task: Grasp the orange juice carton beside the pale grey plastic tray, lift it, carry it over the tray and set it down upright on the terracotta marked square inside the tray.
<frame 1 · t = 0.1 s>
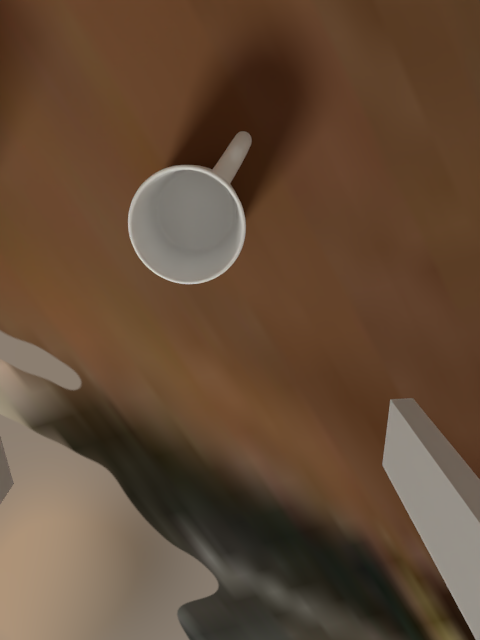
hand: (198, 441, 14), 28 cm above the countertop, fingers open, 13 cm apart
mug: (207, 195, 38), on the countertop
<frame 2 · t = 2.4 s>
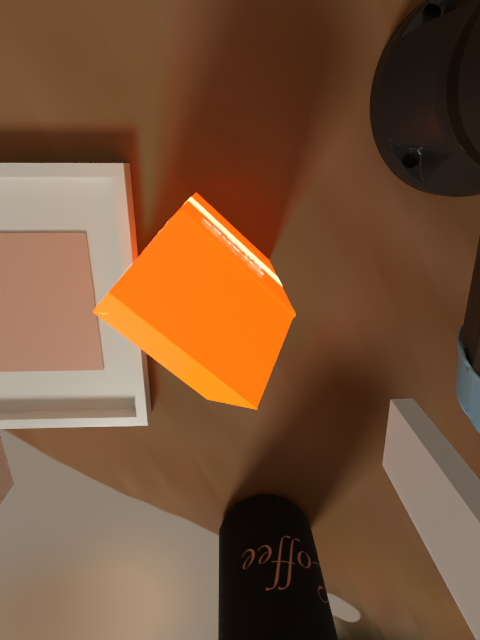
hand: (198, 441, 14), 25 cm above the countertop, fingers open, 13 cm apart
orange juice: (205, 258, 37), on the countertop
coffee jar: (263, 523, 48), on the countertop
tray: (32, 303, 37), on the countertop
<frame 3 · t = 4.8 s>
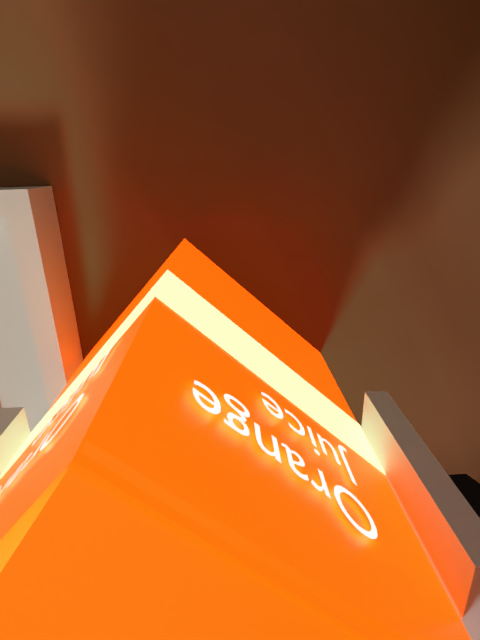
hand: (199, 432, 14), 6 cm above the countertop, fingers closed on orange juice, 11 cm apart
orange juice: (205, 352, 20), on the countertop, touching gripper
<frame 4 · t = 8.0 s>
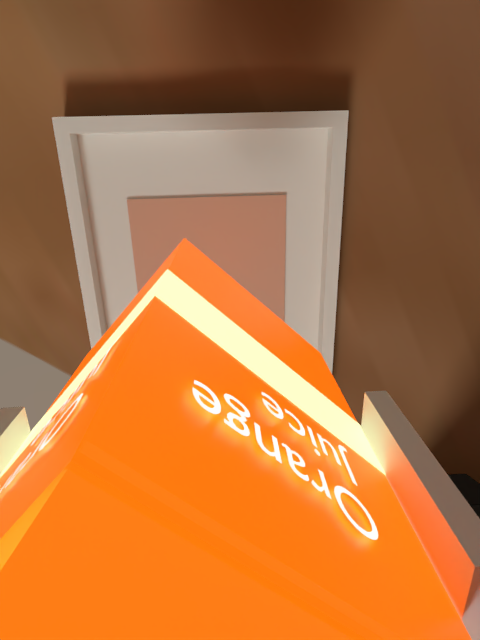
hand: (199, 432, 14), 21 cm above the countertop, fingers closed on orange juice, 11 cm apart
orange juice: (205, 352, 20), point 15 cm above the countertop, touching gripper
tray: (211, 277, 34), on the countertop
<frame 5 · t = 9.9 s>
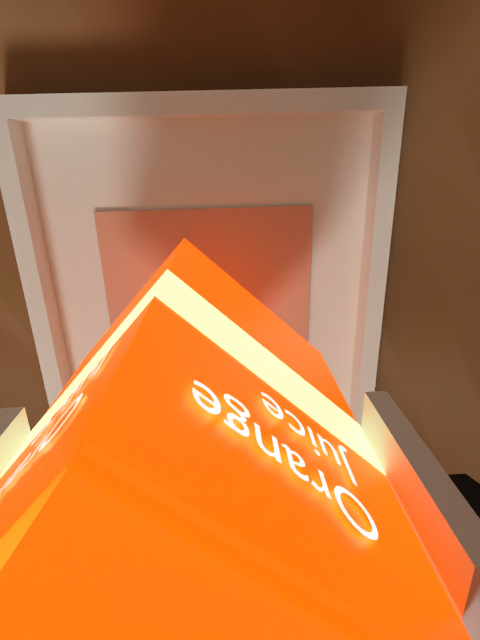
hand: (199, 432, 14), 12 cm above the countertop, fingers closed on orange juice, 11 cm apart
orange juice: (205, 352, 20), point 6 cm above the countertop, touching gripper
tray: (210, 314, 26), on the countertop
when the fingers open (8 cm above the countertop, at t = 11.6 s): orange juice stays where it is, resting on tray.
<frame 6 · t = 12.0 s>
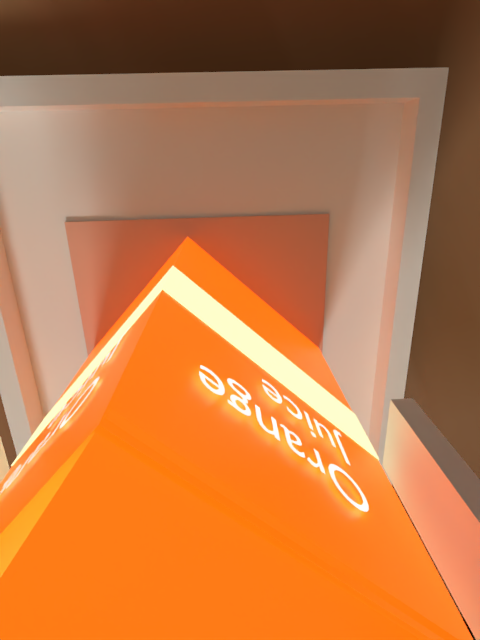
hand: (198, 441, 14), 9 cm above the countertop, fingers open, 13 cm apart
orange juice: (207, 347, 21), point 1 cm above the countertop, touching tray
tray: (206, 340, 22), on the countertop
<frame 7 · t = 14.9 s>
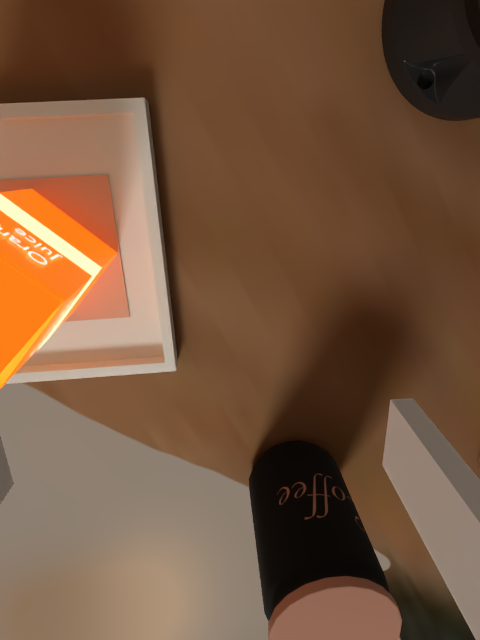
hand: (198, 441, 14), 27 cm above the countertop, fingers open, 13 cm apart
orange juice: (53, 254, 37), point 1 cm above the countertop, touching tray
coffee jar: (291, 472, 49), on the countertop
tray: (56, 252, 38), on the countertop
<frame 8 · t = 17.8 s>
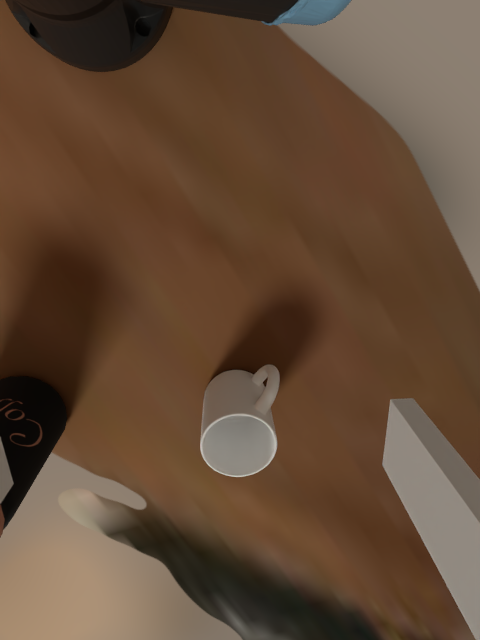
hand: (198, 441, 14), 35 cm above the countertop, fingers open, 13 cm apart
mug: (244, 384, 53), on the countertop
coffee jar: (28, 407, 53), on the countertop
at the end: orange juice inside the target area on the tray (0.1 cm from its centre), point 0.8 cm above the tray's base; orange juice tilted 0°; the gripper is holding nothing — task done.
